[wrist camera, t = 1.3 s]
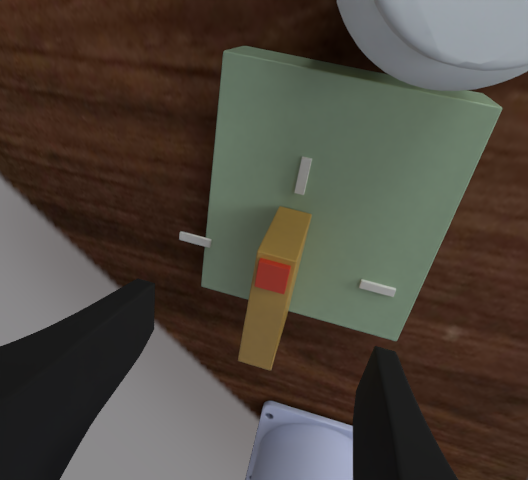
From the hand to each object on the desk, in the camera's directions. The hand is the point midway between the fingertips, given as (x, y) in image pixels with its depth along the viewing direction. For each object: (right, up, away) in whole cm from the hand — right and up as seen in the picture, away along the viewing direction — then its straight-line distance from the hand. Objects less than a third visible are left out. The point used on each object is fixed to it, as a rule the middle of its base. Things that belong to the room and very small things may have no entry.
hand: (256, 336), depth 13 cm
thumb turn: (+1, +2, +4) cm, 5 cm away
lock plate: (+2, +4, +5) cm, 7 cm away
